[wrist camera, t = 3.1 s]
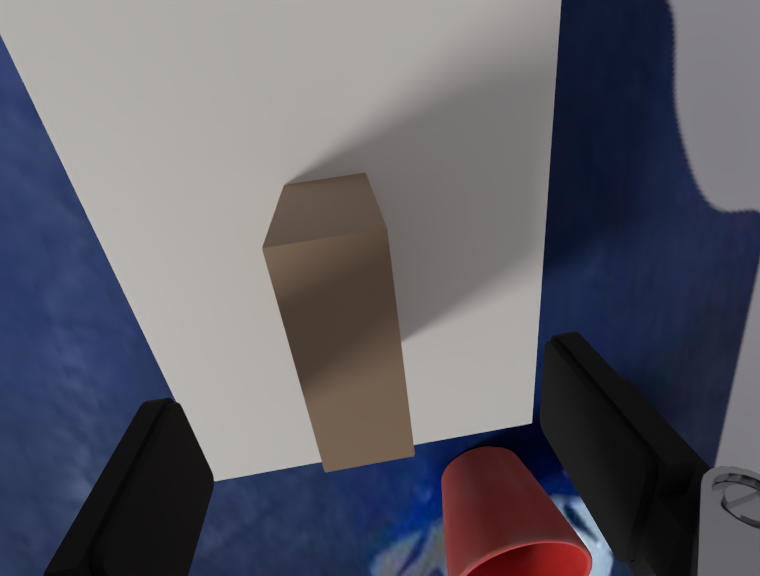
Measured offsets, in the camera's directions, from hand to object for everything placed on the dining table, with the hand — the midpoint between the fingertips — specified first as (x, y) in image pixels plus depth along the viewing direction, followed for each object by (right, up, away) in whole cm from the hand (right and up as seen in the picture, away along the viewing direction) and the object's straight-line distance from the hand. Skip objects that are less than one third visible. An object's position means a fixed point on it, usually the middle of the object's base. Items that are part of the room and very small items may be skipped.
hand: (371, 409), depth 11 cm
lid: (-1, +4, +7) cm, 9 cm away
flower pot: (+10, -14, +29) cm, 34 cm away
